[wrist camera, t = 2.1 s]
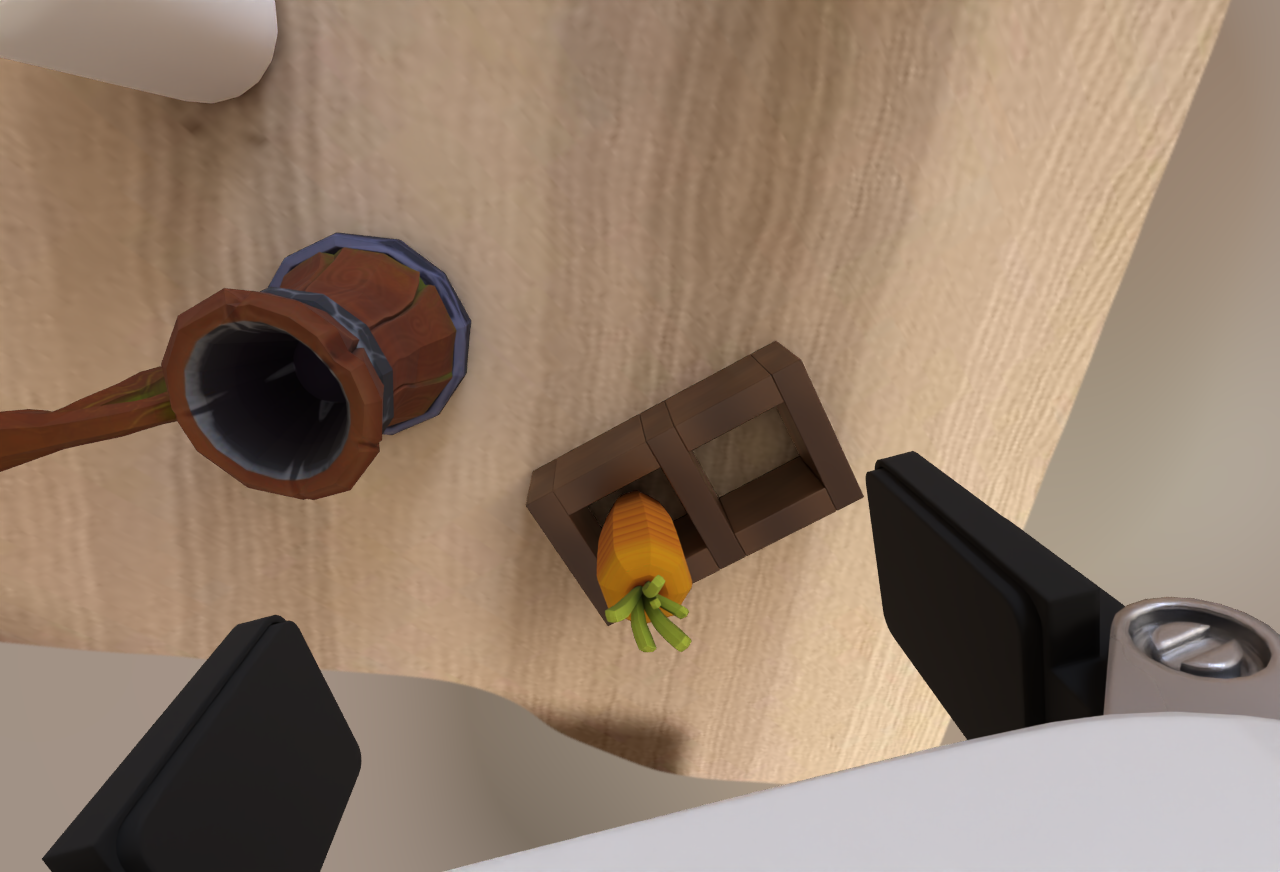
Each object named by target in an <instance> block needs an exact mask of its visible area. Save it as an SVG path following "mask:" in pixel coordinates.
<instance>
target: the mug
mask: <svg viewBox="0 0 1280 872" xmlns="http://www.w3.org/2000/svg"><path fill="white" fill-rule="evenodd" d="M470 327H471V320H470V318H469V316H468V314H467V312H466V311H465V309H464V307H463V305H462V303H461V302H460V300H459V298H458V296H457V294H456V293H455V291H454V289H453V287H452V285H451V283H450V282H449V280H448V278H447V276H446V274H445V273H444V272H442V271H441V270H440V269H438V268H437V267H436V266H434V265H433V264H432V263H430V262H429V261H428V260H426V259H425V258H424V257H422V256H421V255H420V254H418V253H417V252H416V251H414V250H413V249H412V248H410V247H409V246H408V245H406V244H405V243H404V242H402V241H401V240H398V239H390V238H381V237H372V236H363V235H354V234H345V233H334V234H332V235H330V236H328V237H326V238H324V239H322V240H320V241H318V242H316V243H314V244H312V245H310V246H308V247H305V248H303V249H301V250H299V251H297V252H295V253H293V254H291V255H289V256H287V257H286V258H284V260H283V261H282V263H281V265H280V267H279V269H278V270H277V272H276V274H275V276H274V277H273V279H272V281H271V283H270V285H269V286H268V288H266V289H264V290H262V291H260V292H256V291H245V290H236V289H227V288H224V289H222V290H220V291H219V292H217V293H215V294H214V295H212V296H210V297H209V298H207V299H205V300H204V301H202V302H200V303H199V304H197V305H195V306H194V307H192V308H190V309H189V310H187V311H185V312H184V313H182V314H180V315H179V316H178V317H177V320H176V323H175V326H174V329H173V331H172V334H171V337H170V340H169V343H168V346H167V349H166V352H165V355H164V358H163V360H162V363H161V367H157V368H153V369H149V370H146V371H142V372H139V373H137V374H136V375H134V376H132V377H130V378H128V379H126V380H124V381H122V382H120V383H118V384H116V385H114V386H111V387H109V388H106V389H104V390H102V391H99V392H97V393H94V394H92V395H90V396H87V397H85V398H82V399H80V400H78V401H76V402H74V403H72V404H70V405H68V406H66V407H64V408H61V409H59V410H56V411H53V412H51V411H44V410H32V409H26V410H15V411H3V412H0V472H1V471H4V470H7V469H10V468H12V467H15V466H18V465H21V464H24V463H26V462H29V461H32V460H35V459H38V458H40V457H43V456H46V455H49V454H52V453H54V452H57V451H60V450H63V449H66V448H70V447H75V446H80V445H84V444H89V443H94V442H98V441H103V440H108V439H113V438H118V437H122V436H126V435H129V434H132V433H135V432H138V431H142V430H145V429H148V428H152V427H155V426H158V425H162V424H166V423H171V422H175V421H178V423H179V424H180V426H181V427H182V429H183V430H184V432H185V434H186V435H187V437H188V438H189V440H190V441H191V443H192V444H193V446H194V447H195V449H196V450H197V451H198V452H199V453H201V454H202V455H203V456H205V457H206V458H207V459H209V460H210V461H212V462H213V463H214V464H216V465H217V466H219V467H220V468H221V469H223V470H224V471H225V472H227V473H228V474H230V475H231V476H232V477H234V478H235V479H237V480H238V481H239V482H241V483H242V484H243V485H245V486H246V487H248V488H252V489H256V490H261V491H266V492H270V493H275V494H280V495H284V496H289V497H293V498H298V499H303V500H304V499H311V500H315V499H319V498H323V497H327V496H330V495H334V494H338V493H342V492H345V491H349V490H351V489H352V487H353V486H354V485H355V483H356V482H357V481H358V479H359V478H360V477H361V475H362V474H363V473H364V471H365V470H366V469H367V467H368V466H369V465H370V463H371V462H372V461H373V459H374V458H375V457H376V455H377V454H378V453H379V451H380V450H379V442H380V441H381V440H382V435H383V434H386V435H393V434H395V433H398V432H400V431H402V430H405V429H407V428H409V427H412V426H414V425H416V424H419V423H421V422H423V421H426V420H428V419H430V418H433V417H435V416H437V415H439V414H440V412H441V411H442V409H443V408H444V406H445V405H446V403H447V402H448V400H449V399H450V397H451V396H452V394H453V393H454V391H455V390H456V388H457V387H458V385H459V384H460V382H461V381H462V379H463V378H464V376H465V375H466V373H467V361H468V348H469V336H470Z"/></svg>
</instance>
